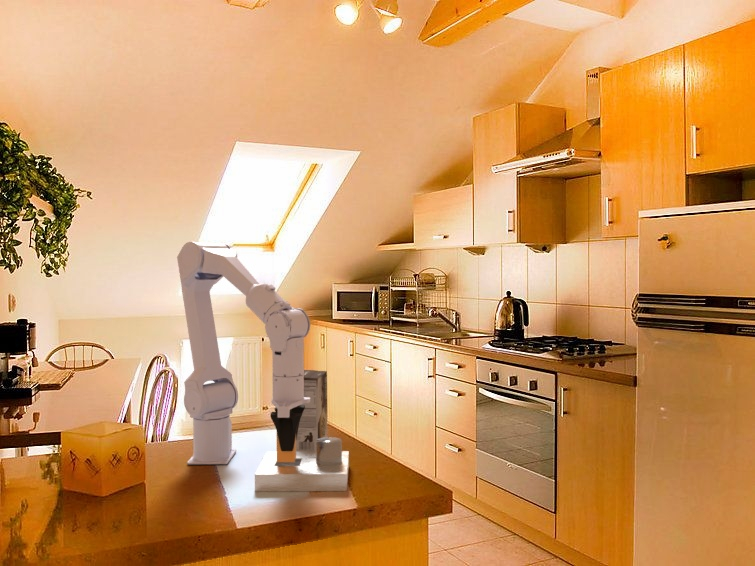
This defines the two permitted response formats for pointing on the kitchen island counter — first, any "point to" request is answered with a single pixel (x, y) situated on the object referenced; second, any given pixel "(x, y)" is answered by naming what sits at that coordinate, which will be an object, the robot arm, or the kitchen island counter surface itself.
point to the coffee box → (313, 411)
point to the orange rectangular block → (285, 453)
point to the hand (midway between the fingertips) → (288, 447)
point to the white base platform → (306, 469)
